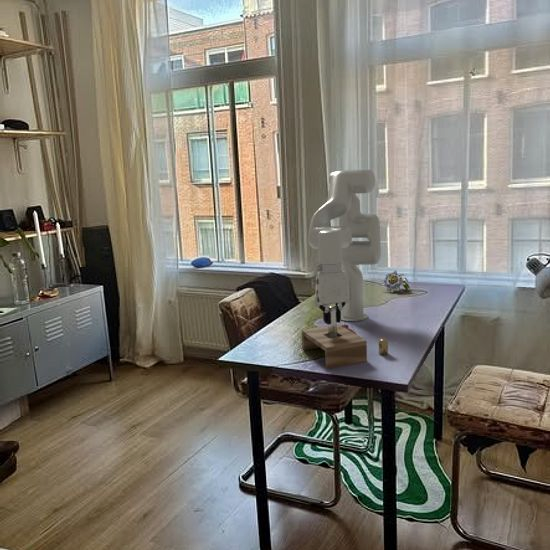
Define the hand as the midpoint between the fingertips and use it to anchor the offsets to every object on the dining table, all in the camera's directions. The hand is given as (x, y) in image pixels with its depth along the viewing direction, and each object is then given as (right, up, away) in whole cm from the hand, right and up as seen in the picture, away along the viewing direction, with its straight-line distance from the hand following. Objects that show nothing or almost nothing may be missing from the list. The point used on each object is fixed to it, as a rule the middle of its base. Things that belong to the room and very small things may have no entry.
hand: (332, 322), depth 175 cm
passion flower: (+40, +8, +82) cm, 91 cm away
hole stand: (+1, -11, +3) cm, 12 cm away
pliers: (+7, -7, +24) cm, 26 cm away
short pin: (+17, -11, +1) cm, 20 cm away
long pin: (0, -7, +1) cm, 7 cm away
